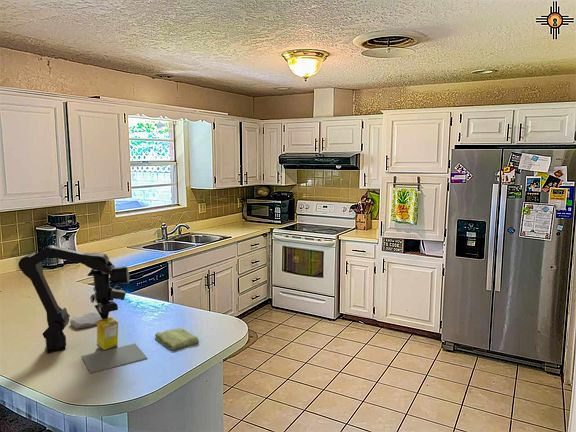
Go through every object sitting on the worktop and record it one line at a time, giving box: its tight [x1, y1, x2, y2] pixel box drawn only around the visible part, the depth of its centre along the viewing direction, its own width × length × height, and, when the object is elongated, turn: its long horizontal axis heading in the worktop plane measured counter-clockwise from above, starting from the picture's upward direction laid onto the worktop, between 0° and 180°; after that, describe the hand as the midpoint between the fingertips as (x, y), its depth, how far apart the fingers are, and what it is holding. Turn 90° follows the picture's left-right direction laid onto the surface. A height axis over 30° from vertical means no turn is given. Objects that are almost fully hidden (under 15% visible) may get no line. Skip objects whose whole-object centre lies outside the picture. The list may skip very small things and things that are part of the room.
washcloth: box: [154, 327, 200, 351], centre depth 180 cm, size 13×18×3 cm
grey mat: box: [81, 343, 148, 374], centre depth 164 cm, size 20×16×1 cm
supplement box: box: [96, 316, 119, 351], centre depth 173 cm, size 6×6×11 cm
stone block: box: [69, 311, 102, 330], centre depth 198 cm, size 12×5×10 cm
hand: (105, 322), depth 175 cm, fingers closed
